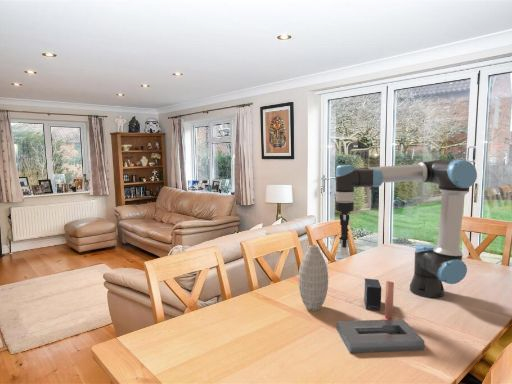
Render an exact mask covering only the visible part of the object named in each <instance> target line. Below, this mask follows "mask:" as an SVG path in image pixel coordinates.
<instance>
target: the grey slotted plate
mask: <svg viewBox="0 0 512 384" xmlns="http://www.w3.org/2000/svg"><path fill="white" fill-rule="evenodd" d="M336 331H337V333H338V334H339V337H340V338H341V341H342V342H343V344H344V345H345V347H346V349H347V351H348V353H349V354H362V353H363V354H364V353H365V354H367V353H388V352H391V353H392V352H413V351H414V352H415V351H416V352H417V351H424V350H425V340H424V339H423V338H422V336H421V335H419V334H418V332H416V331H415V329H413V328H412V327H411V326H410V325H409V323H408V322H407V321H405V320H404V319H403V318H397V319H396V318H395V319H391V320H382V319H368V320H367V319H365V320H340V321H339V320H337V321H336Z"/></svg>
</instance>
